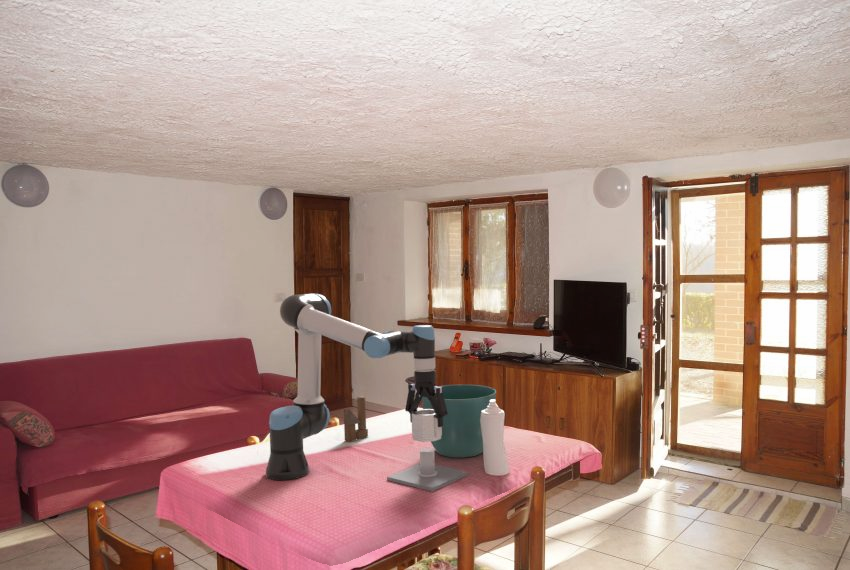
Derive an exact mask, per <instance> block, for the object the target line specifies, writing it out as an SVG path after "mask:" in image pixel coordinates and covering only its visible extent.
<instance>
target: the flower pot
mask: <svg viewBox="0 0 850 570" xmlns="http://www.w3.org/2000/svg"><path fill="white" fill-rule="evenodd" d="M437 387H443V395H444V400H445V404H446V408H447V412H448V415H446V416H444V417H443V426H442V436H441V439H439V440H436V441H430V443H431V445H432V446H433V449H434V451H435V452H437V454H439V455H442V456H444V457H447V458H456V459H457V458H458V459H459V458H460V459H461V458H469V457H470V458H472V457H475V456H478V455H481V454H483V438H482V431H481V423H480V417H481V413H482V412H481V411H482V410H485V409H486V408H487V406H489V404H490V400H492V399H495V400H496V398H497V390H496V389H495V388H493V387H489V386H485V385H478V384H477V385H476V384H448V385H439V386H437ZM434 392H435V391H434ZM435 394H436V393H435ZM436 398H437V397H436ZM496 401H497V400H496ZM421 405H422V409H433V407H432V405H431V403H430V400H428V398H427V397H422V399H421Z"/></svg>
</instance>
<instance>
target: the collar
mask: <svg viewBox="0 0 850 570" xmlns="http://www.w3.org/2000/svg"><path fill="white" fill-rule="evenodd" d="M436 417H437V416H436V414H435V412H434V409H423V408H422V409H421V408H420V409H417V410H415V411H412V423H411V434H412V440H413V441H416V442H422V443H425V442H426V443H427V442H430V443H431V441H436V440H439V439H441V436H439V437H435V418H436Z"/></svg>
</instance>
